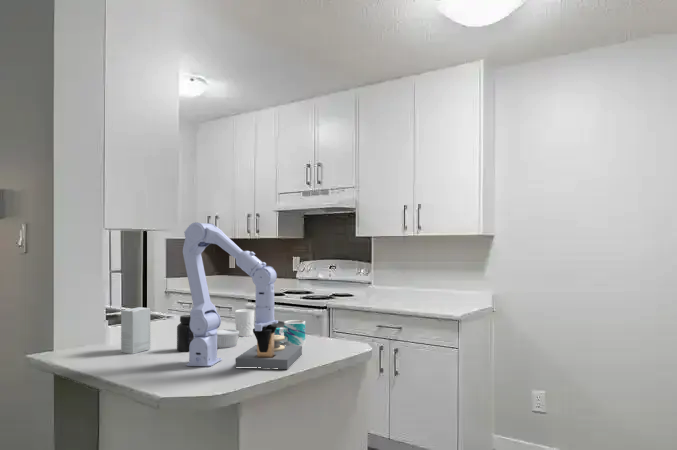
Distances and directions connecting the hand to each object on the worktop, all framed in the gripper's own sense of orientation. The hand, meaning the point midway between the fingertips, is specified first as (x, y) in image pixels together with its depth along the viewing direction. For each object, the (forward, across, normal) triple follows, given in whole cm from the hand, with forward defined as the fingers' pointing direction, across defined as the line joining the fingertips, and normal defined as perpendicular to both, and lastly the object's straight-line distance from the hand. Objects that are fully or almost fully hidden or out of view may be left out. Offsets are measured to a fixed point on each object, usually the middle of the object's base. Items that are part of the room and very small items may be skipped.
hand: (265, 350), depth 158 cm
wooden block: (+3, 0, 0) cm, 3 cm away
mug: (+5, +32, 0) cm, 32 cm away
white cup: (+5, +49, +23) cm, 54 cm away
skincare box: (+5, +15, +51) cm, 53 cm away
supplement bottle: (+5, +19, +34) cm, 39 cm away
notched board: (+5, +6, 0) cm, 8 cm away
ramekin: (+5, +28, +24) cm, 37 cm away
